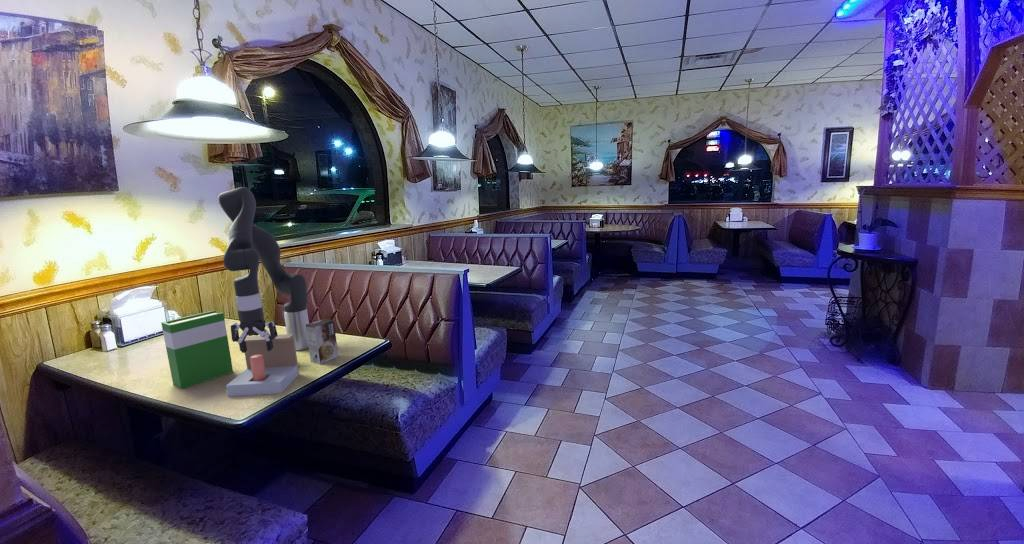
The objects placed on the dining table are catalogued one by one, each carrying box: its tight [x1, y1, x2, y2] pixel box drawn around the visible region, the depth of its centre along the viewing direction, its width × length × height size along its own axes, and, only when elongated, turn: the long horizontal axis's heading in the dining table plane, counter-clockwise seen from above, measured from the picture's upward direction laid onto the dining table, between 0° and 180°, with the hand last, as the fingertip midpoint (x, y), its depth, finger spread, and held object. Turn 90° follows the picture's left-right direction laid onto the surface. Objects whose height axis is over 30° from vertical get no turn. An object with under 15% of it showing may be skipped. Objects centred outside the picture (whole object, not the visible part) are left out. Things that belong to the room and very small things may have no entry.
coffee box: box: [306, 318, 339, 365], centre depth 188 cm, size 9×6×16 cm
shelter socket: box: [225, 333, 300, 397], centre depth 166 cm, size 16×18×16 cm
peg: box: [250, 355, 266, 381], centre depth 163 cm, size 4×4×12 cm
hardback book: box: [160, 310, 234, 390], centre depth 173 cm, size 18×7×24 cm, turn 145°
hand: (257, 351), depth 162 cm, fingers open, 8 cm apart
